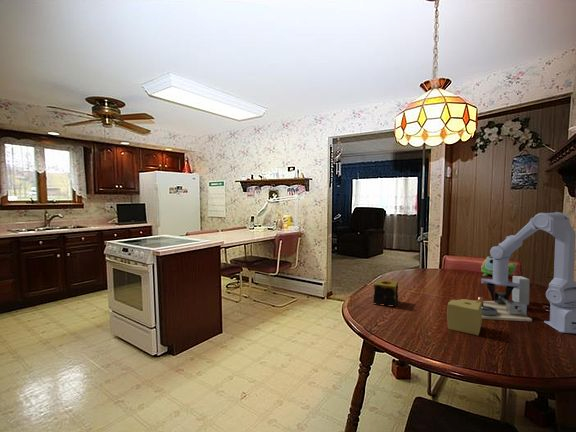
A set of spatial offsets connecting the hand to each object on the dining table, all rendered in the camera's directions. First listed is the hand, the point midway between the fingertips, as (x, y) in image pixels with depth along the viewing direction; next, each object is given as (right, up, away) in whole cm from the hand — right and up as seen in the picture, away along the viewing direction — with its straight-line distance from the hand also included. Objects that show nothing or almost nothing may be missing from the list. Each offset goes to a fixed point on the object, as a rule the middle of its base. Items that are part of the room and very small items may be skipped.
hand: (499, 301), depth 133 cm
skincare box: (+12, -2, +3) cm, 12 cm away
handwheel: (-14, -2, -10) cm, 18 cm away
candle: (-51, -3, +6) cm, 51 cm away
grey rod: (-1, -1, -5) cm, 5 cm away
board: (-8, -2, -6) cm, 11 cm away
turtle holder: (+34, +1, +49) cm, 60 cm away
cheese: (-30, -4, -22) cm, 38 cm away
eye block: (-3, -3, -13) cm, 13 cm away
